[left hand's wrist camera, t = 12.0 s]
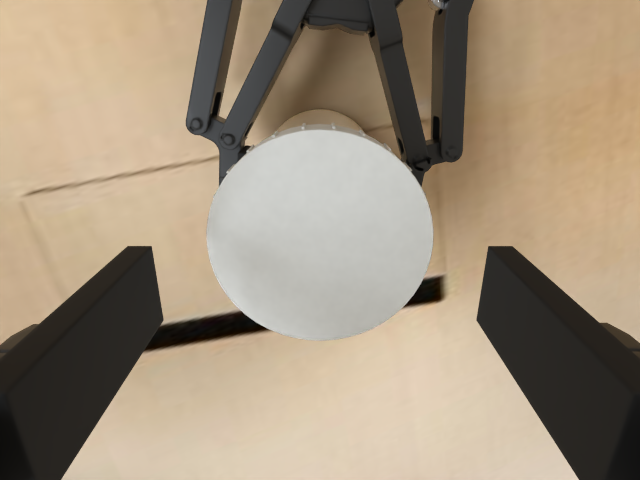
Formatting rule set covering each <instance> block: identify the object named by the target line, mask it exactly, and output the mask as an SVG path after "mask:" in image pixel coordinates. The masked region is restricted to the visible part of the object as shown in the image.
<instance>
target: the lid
mask: <svg viewBox="0 0 640 480" xmlns="http://www.w3.org/2000/svg"><path fill="white" fill-rule="evenodd" d="M246 152H247V153H246V154H245V155H244V156H243V157H242V158H241V159H240V160H239V161H238V162H237V163H236V164H234V165H233V166H232V167H231V168H230V169H229V170H228V171H227V172H226V173H227V175H226V177H225V178H224V179H223V181H222V183H221V185H220V186H219V188H218V190H217V192H216V194H215V195H214V196H213V198H214V199H213V201H212V204H211V208H210V212H209V216H208V222H207V248H208V253H209V259H210V262H211V265H212V268H213V271H214V274H215V276H216V278H217V280H218V282H219V284H220V286H221V287H222V289H223V290H224V292H225V293H226V295H227V296H228V297H229V298H230V300H231V301H232V302H233V303H234V304H235V305H236V306H237V307H238V308H239V309H240V310H241V311H242V312H243V313H244V314H245V315H247V316H248V317H249V318H251V319H252V320H254V321H255V322H257V323H258V324H260V325H262V326H264V327H266V328H267V329H270V330H272V331H274V332H277V333H279V334H282V335H286V336H289V337H293V338H299V339H305V340H319V341H322V340H336V339H341V338H347V337H351V336H354V335H358V334H361V333H363V332H366V331H368V330H370V329H373V328H374V327H376V326H378V325H380V324H382V323H383V322H385V321H386V320H388V319H389V318H390V317H392V316H393V315H395V314H396V313H397V312H398V311H399V310H400V309H401V308H402V307H403V306H404V305H405V304H406V303H407V302H408V301H409V300H410V298H411V297H412V296H413V295H414V293H415V292H416V290H417V289H418V287H419V285H420V284H421V282H422V280H423V278H424V276H425V274H426V271H427V268H428V265H429V262H430V259H431V254H432V248H433V222H432V215H431V212H430V208H429V204H428V201H427V199H426V196H425V195H426V194H425V192H424V191H423V189H422V188H421V186H420V184H419V183H418V181H417V179H416V178H415V176H414V175H413V174H412V173H411V171H412V169H411V168H410V167H409V166H408V165H407V164H406V163H405V162H402V161H401V160H400V159H399V158H398V157H397V156H396V155H395V154H394V153H393V152H392V151H391V148H390V147H389V146H388V145H387V144H385V143H384V144H382V143H380V142H379V141H377V140H376V139H374V138H372V137H370V136H368V135H366V134H365V133H364V132H363V131H362V130H359V131H357V130H354V129H351V128H347V127H342V126H337V125H335V124H334V123H332V124H331V125H329V124H312V125H306V123H303V124H302V126H298V127H293V128H289V129H286V130H284V131H281V132H278V130H277V131H275V133H274V134H273V135H272V136H270V137H268V138H266V139H264V140H263V141H261V142H260V143H258V144H257V145H256V146H254V145H252V146H251V147H250V148H249V149H248V150H247V151H246Z"/></svg>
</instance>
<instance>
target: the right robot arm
mask: <svg viewBox="0 0 640 480" xmlns="http://www.w3.org/2000/svg"><path fill="white" fill-rule="evenodd" d="M402 1H403V0H283V2H282V4H281V6H280V8H279V10H278V12H277V14H276V16H275V18H274V20H273V23H272V27H271V29H270V31H269V33H268V36H267V38H266V40H265V42H264V44H263V46H262V48H261V50H260V52H259V54H258V56H257V58H256V60H255V62H254V64H253V66H252V68H251V70H250V72H249V74H248V76H247V78H246V80H245V82H244V84H243V86H242V88H241V90H240V92H239V95H238V97H237V99H236V101H235V103H234V105H233V107H232V109H231V111H230V113H229V115H228V117H227V119H224V118H222V117H220V116H219V112H220V107H221V102H222V97H223V93H224V88H225V83H226V78H227V73H228V68H229V63H230V59H231V54H232V49H233V44H234V39H235V34H236V30H237V25H238V20H239V15H240V10H241V4H242V0H207V6H206V11H205V17H204V23H203V28H202V34H201V39H200V45H199V51H198V56H197V62H196V67H195V73H194V78H193V84H192V90H191V95H190V101H189V106H188V112H187V117H186V126H187V129H188V130H189V131H190V132H191V133H192V134H194V135H201V136H203V137H205V138H207V139H209V140H211V141H213V142H214V143H215V144H216V145H217V147H218V149H219V153H220V161H219V186H220V185H221V183H222V181H223V179H224V178H225V177H226V175H227V173H226V172H227V171H228V170H229V169H230V168H231V167H232V166H233V165H234V164H236V163H237V162H238V161H239V160H240V159H241V158H242V157H243V156H244V155H245V154H246V153H247V152H246V151H247V150H248V149H249V148H250V147H251V146H245V140H246V139H247V135H248V133H249V131H250V129H251V127H252V125H253V124H254V122H255V120H256V118H257V116H258V114H259V112H260V110H261V108H262V106H263V104H264V102H265V100H266V98H267V96H268V95H269V93H270V91H271V89H272V87H273V85H274V83H275V81H276V79H277V77H278V75H279V73H280V71H281V69H282V67H283V65H284V64H285V62H286V60H287V58H288V56H289V54H290V52H291V50H292V48H293V46H294V44H295V43H296V41H297V40H298V38H299V36H300V34H301V32H302V30H303V28H304V26H305V25H306V26H308V27H309V29H316V30H327V29H333V28H339V29H341V30H343V31H345V32H348V33H350V34H358V35H364V34H366V33H368V36H369V40H370V43H371V47H372V50H373V52H374V55H375V58H376V62H377V66H378V70H379V74H380V77H381V81H382V85H383V89H384V93H385V97H386V100H387V104H388V108H389V112H390V116H391V120H392V123H393V127H394V131H395V135H396V139H397V143H398V146H399V150H400V154H401V161H402V162H405V163H406V164H407V165H408V166H409V167H410V168H411V169H412V171H411V173H412V174H413V175H414V176H415V178H416V179H417V181H418V183H419V184H420V186H422V181H423V176H424V173H425V172H426V171H428V170H429V169H430V168H431V166H432V165H434V164H438V163H442V162H446V161H447V162H455V161H457V160H458V159H459V158H460V157H461V155H462V151H463V128H464V105H465V82H466V59H467V36H468V15H469V12H470V10H471V7H472V4H473V1H474V0H428V4H429V6H430V8H431V9H433V10H435V11H436V12H435V16H434V22H433V37H432V101H431V140H427V141H425V138H424V133H423V129H422V125H421V121H420V116H419V112H418V108H417V104H416V99H415V95H414V91H413V87H412V83H411V78H410V74H409V70H408V66H407V61H406V57H405V53H404V49H403V43H402V41H403V38H402V32H401V27H400V23H399V19H398V15H397V10H396V8H397V7H398V6H399V5H400V4H401V2H402Z"/></svg>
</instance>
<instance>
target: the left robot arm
mask: <svg viewBox="0 0 640 480" xmlns="http://www.w3.org/2000/svg"><path fill="white" fill-rule="evenodd" d="M162 322H163V314H162V308H161V302H160V295H159V289H158V283H157V277H156V271H155V264H154V258H153V252H152V246H127V247H126V248H125V249H124V250H123V251H122V252H121V253H119V254H118V255H117V256H116V257H115V258H114V259H113V260H112V261H110V262H109V263H108V264H107V265H106V266H105V267H104V268H102V269H101V270H100V271H99V272H98V273H97V274H96V275H94V276H93V277H92V278H91V279H90V280H89V281H88V282H87V283H85V284H84V285H83V286H82V287H81V288H80V289H79V290H77V291H76V292H75V293H74V294H73V295H72V296H71V297H70V298H68V299H67V300H66V301H65V302H64V303H63V304H62V305H60V306H59V307H58V308H57V309H56V310H55V311H54V312H52V313H51V314H50V315H49V316H48V317H47V318H46V319H45V320H43V321H42V322H41V323H40V324H33V325H31V326H29V327H27V328H25V329H24V330H22V331H20V332H18V333H16V334H14V335H12V336H11V337H9V338H8V339H7V340H6V341H5V342H4V343H2V344H1V345H0V480H61V479H62V477H63V476H64V474H65V472H66V471H67V469H68V468H69V466H70V465H71V463H72V462H73V460H74V458H75V457H76V455H77V454H78V452H79V451H80V449H81V448H82V446H83V444H84V443H85V441H86V440H87V438H88V437H89V435H90V434H91V432H92V430H93V429H94V427H95V426H96V424H97V423H98V421H99V420H100V418H101V416H102V415H103V413H104V412H105V410H106V409H107V407H108V406H109V404H110V402H111V401H112V399H113V398H114V396H115V395H116V393H117V392H118V390H119V389H120V387H121V385H122V384H123V382H124V381H125V379H126V378H127V376H128V375H129V373H130V371H131V370H132V368H133V367H134V365H135V364H136V362H137V361H138V359H139V357H140V356H141V354H142V353H143V351H144V350H145V348H146V347H147V345H148V343H149V342H150V340H151V339H152V337H153V336H154V334H155V333H156V331H157V329H158V328H159V326H160V325H161V323H162ZM477 322H478V323H479V325H480V326H481V328H482V329H483V331H484V333H485V334H486V336H487V337H488V339H489V340H490V342H491V343H492V345H493V347H494V348H495V350H496V351H497V353H498V354H499V356H500V357H501V359H502V361H503V362H504V364H505V365H506V367H507V368H508V370H509V371H510V373H511V375H512V376H513V378H514V379H515V381H516V382H517V384H518V385H519V387H520V389H521V390H522V392H523V393H524V395H525V396H526V398H527V399H528V401H529V403H530V404H531V406H532V407H533V409H534V410H535V412H536V413H537V415H538V416H539V418H540V420H541V421H542V423H543V424H544V426H545V427H546V429H547V430H548V432H549V434H550V435H551V437H552V438H553V440H554V441H555V443H556V444H557V446H558V448H559V449H560V451H561V452H562V454H563V455H564V457H565V458H566V460H567V462H568V463H569V465H570V466H571V468H572V469H573V471H574V472H575V474H576V476H577V477H578V479H579V480H640V343H639V342H638V341H636V340H635V339H634V338H633V337H632V336H630V335H629V334H627V333H625V332H623V331H621V330H620V329H618V328H616V327H614V326H612V325H610V324H608V323H599V322H598V321H597V320H595V319H594V318H593V317H592V316H591V315H590V314H589V313H588V312H586V311H585V310H584V309H583V308H582V307H581V306H580V305H578V304H577V303H576V302H575V301H574V300H573V299H572V298H570V297H569V296H568V295H567V294H566V293H565V292H564V291H563V290H561V289H560V288H559V287H558V286H557V285H556V284H555V283H553V282H552V281H551V280H550V279H549V278H548V277H547V276H546V275H544V274H543V273H542V272H541V271H540V270H539V269H538V268H536V267H535V266H534V265H533V264H532V263H531V262H530V261H528V260H527V259H526V258H525V257H524V256H523V255H522V254H521V253H519V252H518V251H517V250H516V249H515V248H514V247H513V246H488V252H487V258H486V264H485V271H484V277H483V283H482V289H481V295H480V302H479V308H478V314H477Z"/></svg>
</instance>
